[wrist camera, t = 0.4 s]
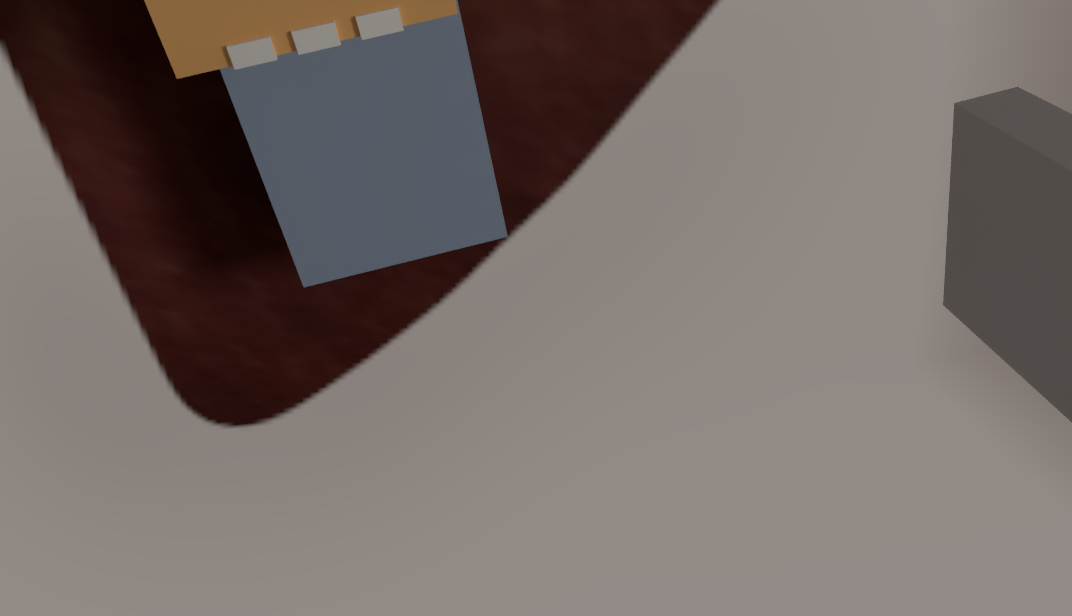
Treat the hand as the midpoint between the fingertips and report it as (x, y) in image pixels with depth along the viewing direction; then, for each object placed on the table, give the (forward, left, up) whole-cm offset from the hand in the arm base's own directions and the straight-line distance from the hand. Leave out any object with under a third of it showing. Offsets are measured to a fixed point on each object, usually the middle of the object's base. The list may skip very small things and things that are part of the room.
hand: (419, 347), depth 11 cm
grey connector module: (+5, +3, -22) cm, 23 cm away
